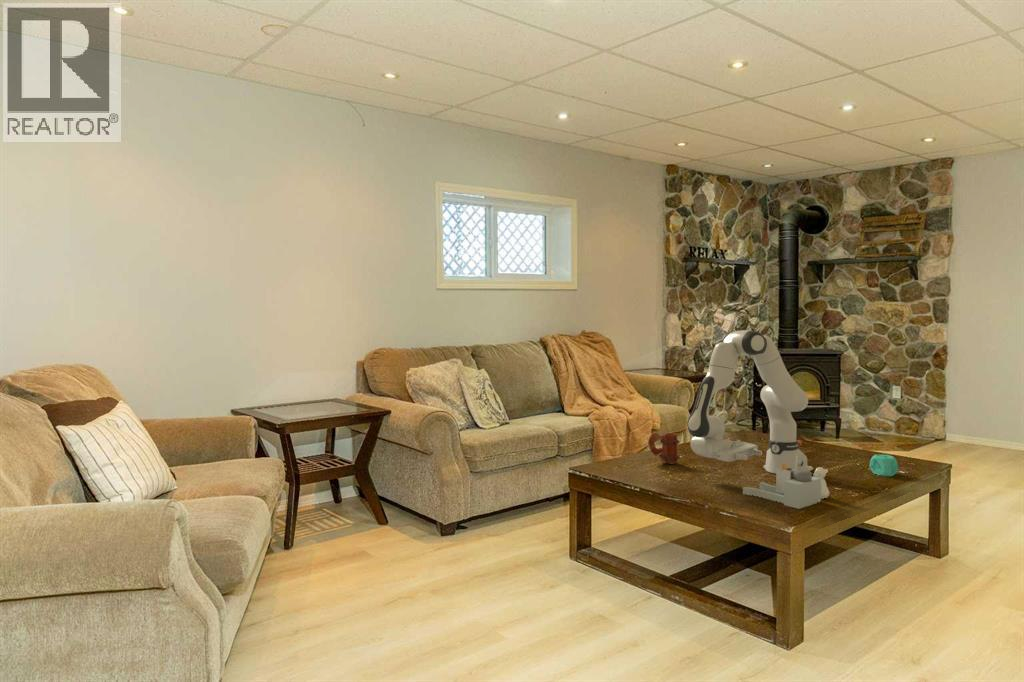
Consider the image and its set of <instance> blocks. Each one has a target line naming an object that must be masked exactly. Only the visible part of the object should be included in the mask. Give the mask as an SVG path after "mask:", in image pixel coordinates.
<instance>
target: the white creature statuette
mask: <svg viewBox="0 0 1024 682" xmlns="http://www.w3.org/2000/svg"><path fill="white" fill-rule="evenodd" d="M828 472H829V469H827V468H826V469H824V468H823V467H821V466H818V467H816V469H815V470H814V473H812V475H813V476H812V477H817V478H821V500H825V499H824V498H826V499H828V497H829V496H830V490H829V488H828V486H827V481H826V480H825V477H826V475H827V473H828Z"/></svg>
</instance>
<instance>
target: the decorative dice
mask: <svg viewBox="0 0 1024 682" xmlns="http://www.w3.org/2000/svg"><path fill="white" fill-rule="evenodd" d="M869 468H870V470H871V472H872V474H874V475H875V474H877V475H876V476H879V475H881V476H880V477H894V475H896V473H897V471H898V468H899V464H898V460H897V459H896V458H895V457H894V456H893V455H890V454H889V455H888V454H874V455H873V456H872V457H871V459H870V461H869Z"/></svg>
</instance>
